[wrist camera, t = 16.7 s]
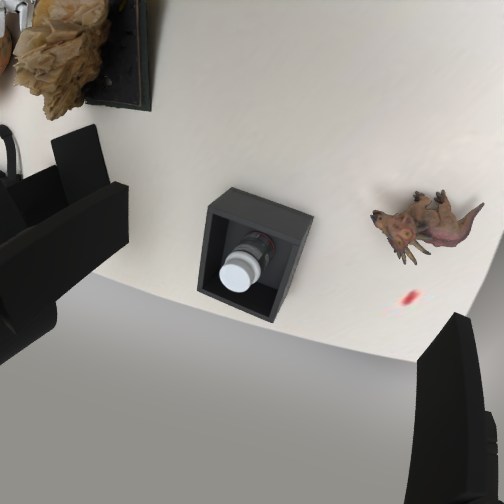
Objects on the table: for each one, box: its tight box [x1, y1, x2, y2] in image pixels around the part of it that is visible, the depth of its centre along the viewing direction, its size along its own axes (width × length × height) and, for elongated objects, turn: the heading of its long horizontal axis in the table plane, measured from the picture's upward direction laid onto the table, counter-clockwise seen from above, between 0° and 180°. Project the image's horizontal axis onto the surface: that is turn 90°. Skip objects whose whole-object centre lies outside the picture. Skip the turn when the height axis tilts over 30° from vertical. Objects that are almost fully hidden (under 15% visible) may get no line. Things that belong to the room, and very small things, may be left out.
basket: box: [197, 187, 314, 323], centre depth 43 cm, size 14×12×7 cm
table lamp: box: [0, 124, 110, 365], centre depth 36 cm, size 26×28×40 cm
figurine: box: [0, 0, 36, 38], centre depth 33 cm, size 14×6×25 cm
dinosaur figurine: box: [370, 190, 484, 265], centre depth 31 cm, size 14×6×9 cm, turn 103°
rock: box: [13, 0, 151, 121], centre depth 29 cm, size 21×25×16 cm
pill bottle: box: [220, 232, 274, 292], centre depth 42 cm, size 5×5×8 cm
